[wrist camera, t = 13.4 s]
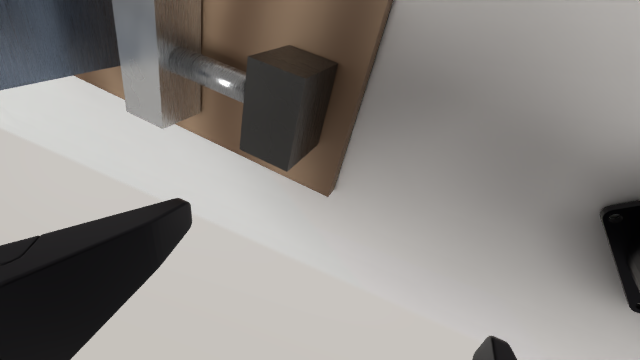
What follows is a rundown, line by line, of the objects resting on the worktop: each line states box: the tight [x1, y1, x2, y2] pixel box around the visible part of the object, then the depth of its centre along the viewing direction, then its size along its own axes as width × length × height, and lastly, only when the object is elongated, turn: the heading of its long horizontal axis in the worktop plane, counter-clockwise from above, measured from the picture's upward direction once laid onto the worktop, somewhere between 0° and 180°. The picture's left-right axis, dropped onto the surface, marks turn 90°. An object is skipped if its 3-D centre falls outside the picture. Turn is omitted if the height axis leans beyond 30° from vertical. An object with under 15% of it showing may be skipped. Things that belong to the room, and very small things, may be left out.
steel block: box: [0, 0, 121, 90], centre depth 17 cm, size 4×4×13 cm
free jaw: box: [112, 0, 339, 172], centre depth 18 cm, size 12×8×4 cm, turn 76°
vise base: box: [74, 0, 393, 197], centre depth 21 cm, size 28×12×4 cm, turn 76°
